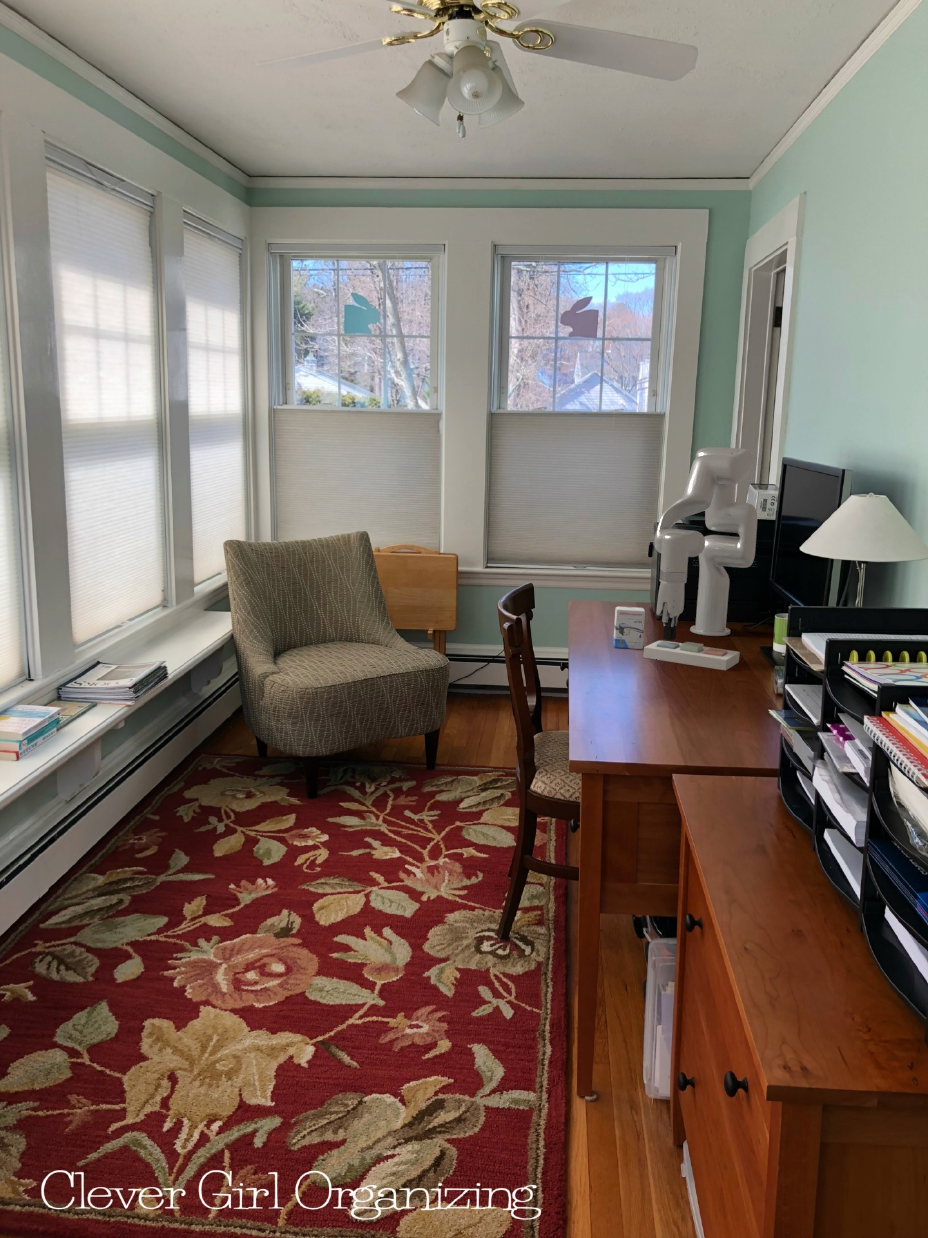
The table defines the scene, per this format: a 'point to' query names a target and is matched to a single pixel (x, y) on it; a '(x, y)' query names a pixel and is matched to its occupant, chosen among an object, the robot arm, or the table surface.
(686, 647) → the sage button
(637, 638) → the ink box
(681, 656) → the button panel
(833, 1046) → the table surface
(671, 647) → the slate button
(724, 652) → the terracotta button
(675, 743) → the table surface
